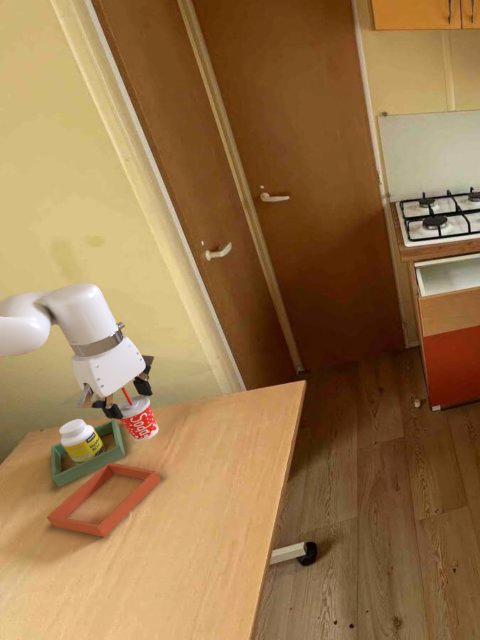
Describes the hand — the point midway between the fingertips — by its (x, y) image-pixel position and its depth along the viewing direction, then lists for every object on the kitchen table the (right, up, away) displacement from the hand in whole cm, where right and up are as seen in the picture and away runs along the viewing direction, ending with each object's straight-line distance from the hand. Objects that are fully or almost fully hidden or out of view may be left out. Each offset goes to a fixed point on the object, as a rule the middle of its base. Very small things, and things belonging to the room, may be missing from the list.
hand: (131, 405), depth 94 cm
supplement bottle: (-13, -13, +4) cm, 19 cm away
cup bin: (0, -19, -5) cm, 20 cm away
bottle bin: (-13, -14, +5) cm, 20 cm away
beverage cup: (0, -8, +4) cm, 9 cm away
